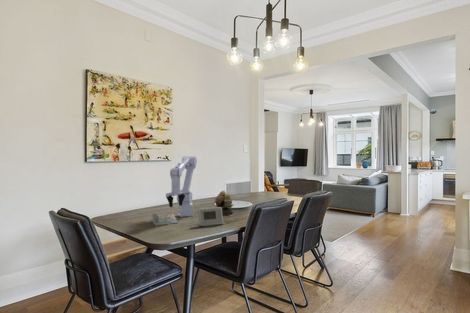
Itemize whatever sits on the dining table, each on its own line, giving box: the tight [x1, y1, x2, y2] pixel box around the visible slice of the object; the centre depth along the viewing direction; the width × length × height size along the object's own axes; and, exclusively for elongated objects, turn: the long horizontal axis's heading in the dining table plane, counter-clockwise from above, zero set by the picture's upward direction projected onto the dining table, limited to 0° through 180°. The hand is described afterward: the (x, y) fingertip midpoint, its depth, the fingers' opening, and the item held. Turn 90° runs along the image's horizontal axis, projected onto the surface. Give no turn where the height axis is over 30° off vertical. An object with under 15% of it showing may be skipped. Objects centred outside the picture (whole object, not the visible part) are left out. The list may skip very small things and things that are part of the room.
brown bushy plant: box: [214, 190, 234, 215], centre depth 220 cm, size 18×12×17 cm, turn 48°
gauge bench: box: [152, 213, 179, 226], centre depth 189 cm, size 14×11×5 cm
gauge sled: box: [165, 213, 176, 219], centre depth 190 cm, size 5×5×4 cm
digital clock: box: [197, 206, 224, 227], centre depth 184 cm, size 16×9×11 cm, turn 103°
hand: (175, 206), depth 194 cm, fingers open, 7 cm apart
